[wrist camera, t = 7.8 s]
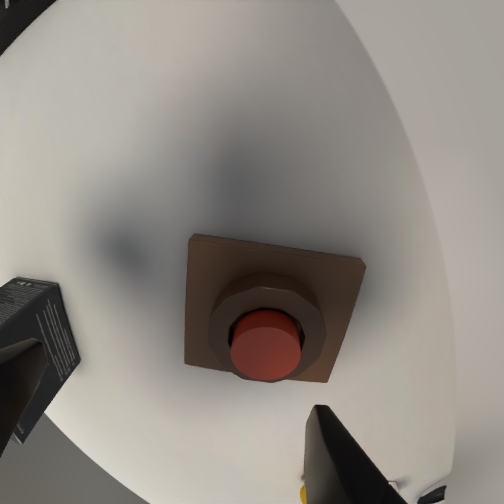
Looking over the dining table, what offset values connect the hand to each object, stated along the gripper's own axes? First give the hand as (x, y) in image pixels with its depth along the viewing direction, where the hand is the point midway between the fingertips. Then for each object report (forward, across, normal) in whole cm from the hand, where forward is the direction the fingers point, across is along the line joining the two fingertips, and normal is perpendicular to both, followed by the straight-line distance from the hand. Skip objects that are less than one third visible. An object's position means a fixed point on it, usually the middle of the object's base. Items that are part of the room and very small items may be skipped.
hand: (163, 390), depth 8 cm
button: (+8, -3, +3) cm, 9 cm away
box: (+11, +14, +8) cm, 20 cm away
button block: (+11, -3, +3) cm, 12 cm away
